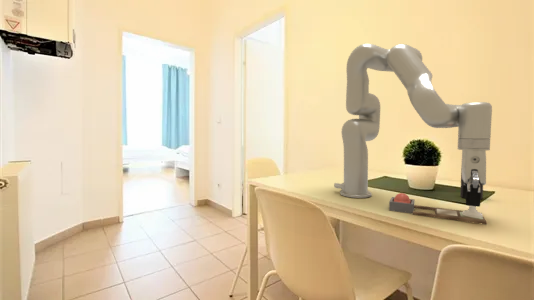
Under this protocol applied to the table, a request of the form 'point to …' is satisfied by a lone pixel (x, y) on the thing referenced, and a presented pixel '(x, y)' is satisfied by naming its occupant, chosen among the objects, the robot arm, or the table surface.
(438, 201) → the table surface
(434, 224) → the table surface
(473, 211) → the chess piece
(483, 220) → the game board
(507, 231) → the table surface
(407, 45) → the robot arm
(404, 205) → the dome housing
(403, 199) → the pop dome
